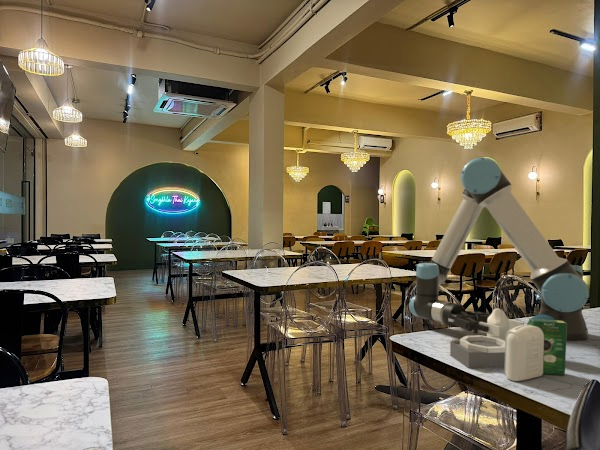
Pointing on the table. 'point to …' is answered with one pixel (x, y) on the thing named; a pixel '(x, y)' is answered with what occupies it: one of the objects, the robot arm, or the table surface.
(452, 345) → the octagonal hole block
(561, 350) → the coffee box
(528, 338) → the photo printer
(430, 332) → the table surface
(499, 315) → the cream tapered cylinder
